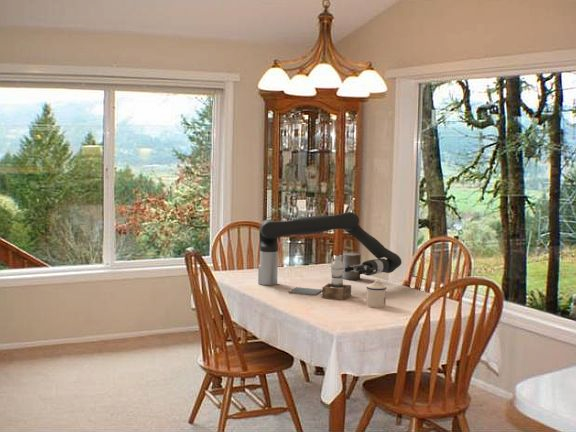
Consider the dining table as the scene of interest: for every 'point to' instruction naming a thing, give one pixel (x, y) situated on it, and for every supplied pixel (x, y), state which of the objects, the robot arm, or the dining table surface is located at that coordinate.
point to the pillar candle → (351, 260)
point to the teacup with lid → (376, 295)
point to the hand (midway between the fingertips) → (352, 271)
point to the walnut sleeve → (336, 292)
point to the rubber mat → (305, 291)
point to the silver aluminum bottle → (337, 272)
